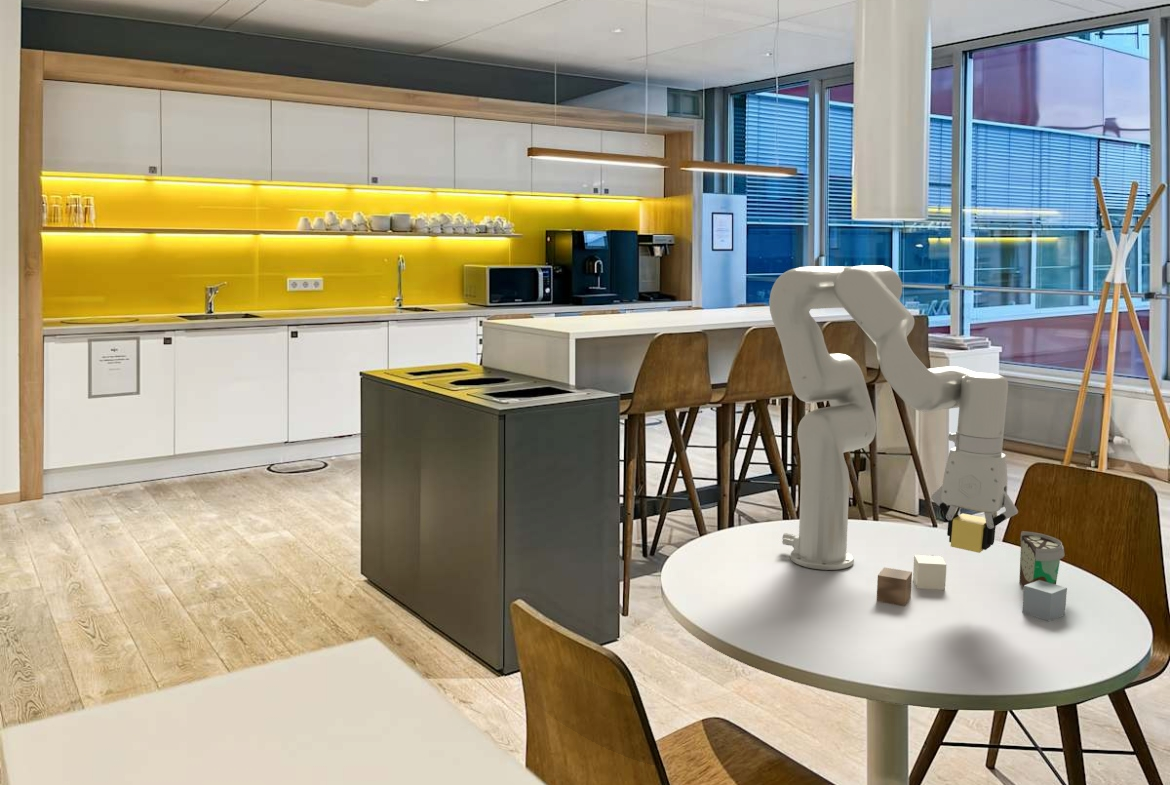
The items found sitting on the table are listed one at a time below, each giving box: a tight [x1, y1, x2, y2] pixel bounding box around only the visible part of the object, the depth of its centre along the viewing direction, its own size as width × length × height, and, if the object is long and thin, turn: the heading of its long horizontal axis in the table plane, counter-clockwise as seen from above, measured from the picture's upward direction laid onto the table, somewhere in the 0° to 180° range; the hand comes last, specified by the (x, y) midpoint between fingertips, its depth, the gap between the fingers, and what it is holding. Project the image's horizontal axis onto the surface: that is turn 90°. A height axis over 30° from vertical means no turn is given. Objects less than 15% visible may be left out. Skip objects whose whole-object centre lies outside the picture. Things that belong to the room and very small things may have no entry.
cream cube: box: [912, 554, 947, 591], centre depth 187 cm, size 5×5×5 cm
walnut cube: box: [876, 567, 913, 607], centre depth 179 cm, size 5×5×5 cm
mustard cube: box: [950, 513, 986, 554], centre depth 174 cm, size 5×5×5 cm
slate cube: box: [1021, 580, 1068, 622], centre depth 172 cm, size 5×5×5 cm
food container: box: [1018, 531, 1066, 591], centre depth 182 cm, size 12×6×10 cm, turn 168°
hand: (969, 543), depth 174 cm, fingers closed on mustard cube, 5 cm apart
